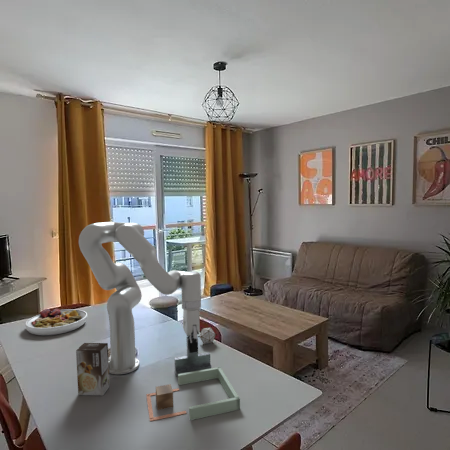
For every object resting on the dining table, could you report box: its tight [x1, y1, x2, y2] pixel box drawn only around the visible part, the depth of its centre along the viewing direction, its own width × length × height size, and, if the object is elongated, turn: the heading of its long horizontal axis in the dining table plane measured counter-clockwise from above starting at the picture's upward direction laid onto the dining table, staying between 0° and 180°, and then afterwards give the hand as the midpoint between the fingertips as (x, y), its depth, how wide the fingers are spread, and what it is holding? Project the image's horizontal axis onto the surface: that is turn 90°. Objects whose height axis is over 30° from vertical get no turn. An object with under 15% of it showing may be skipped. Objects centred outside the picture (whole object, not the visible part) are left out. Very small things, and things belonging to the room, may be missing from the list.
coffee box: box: [75, 342, 110, 396], centre depth 112 cm, size 9×6×16 cm
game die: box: [197, 325, 218, 346], centre depth 150 cm, size 9×8×10 cm
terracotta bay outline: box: [146, 388, 187, 422], centre depth 104 cm, size 11×14×1 cm
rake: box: [174, 337, 212, 378], centre depth 125 cm, size 4×14×13 cm, turn 108°
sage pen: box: [177, 366, 241, 421], centre depth 109 cm, size 16×21×4 cm
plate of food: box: [25, 308, 88, 336], centre depth 174 cm, size 30×30×8 cm
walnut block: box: [155, 383, 174, 411], centre depth 104 cm, size 5×5×5 cm
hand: (192, 348), depth 125 cm, fingers open, 4 cm apart
